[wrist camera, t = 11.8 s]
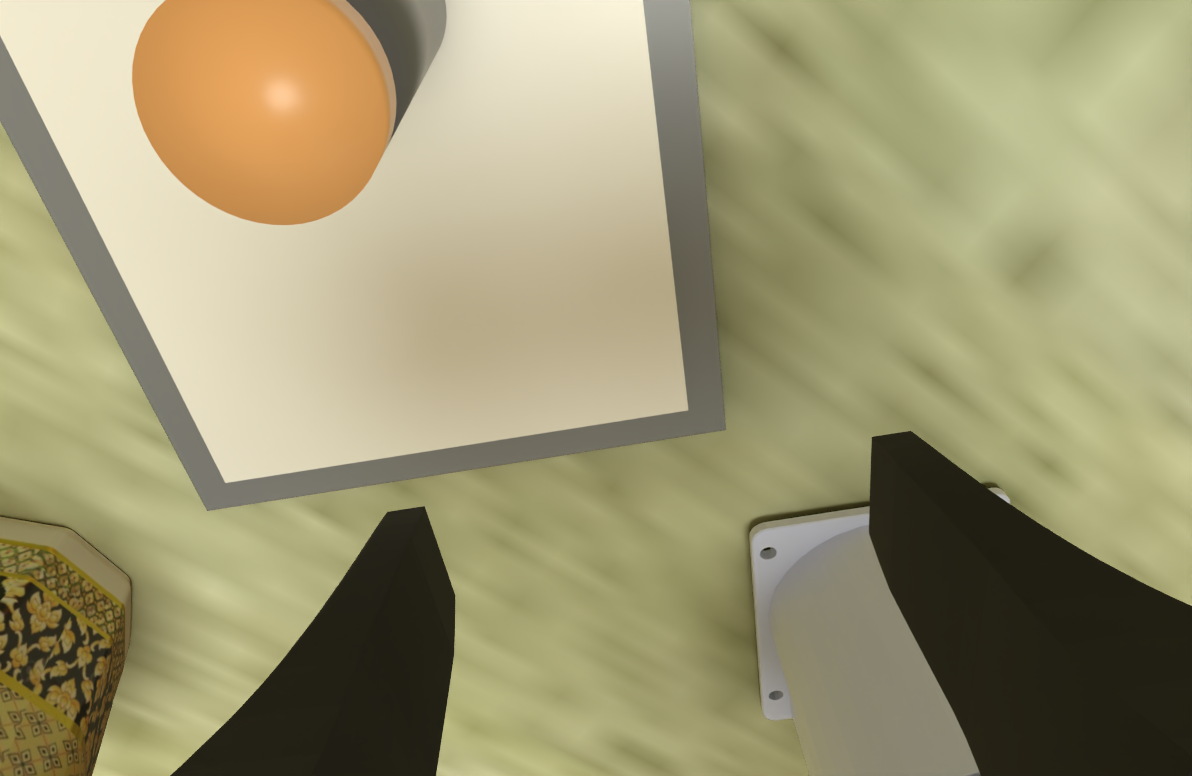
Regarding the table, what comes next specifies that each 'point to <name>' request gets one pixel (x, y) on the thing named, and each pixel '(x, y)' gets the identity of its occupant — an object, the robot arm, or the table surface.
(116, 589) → the ceramic cup
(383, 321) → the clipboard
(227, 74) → the marker
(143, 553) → the table surface
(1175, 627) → the robot arm
